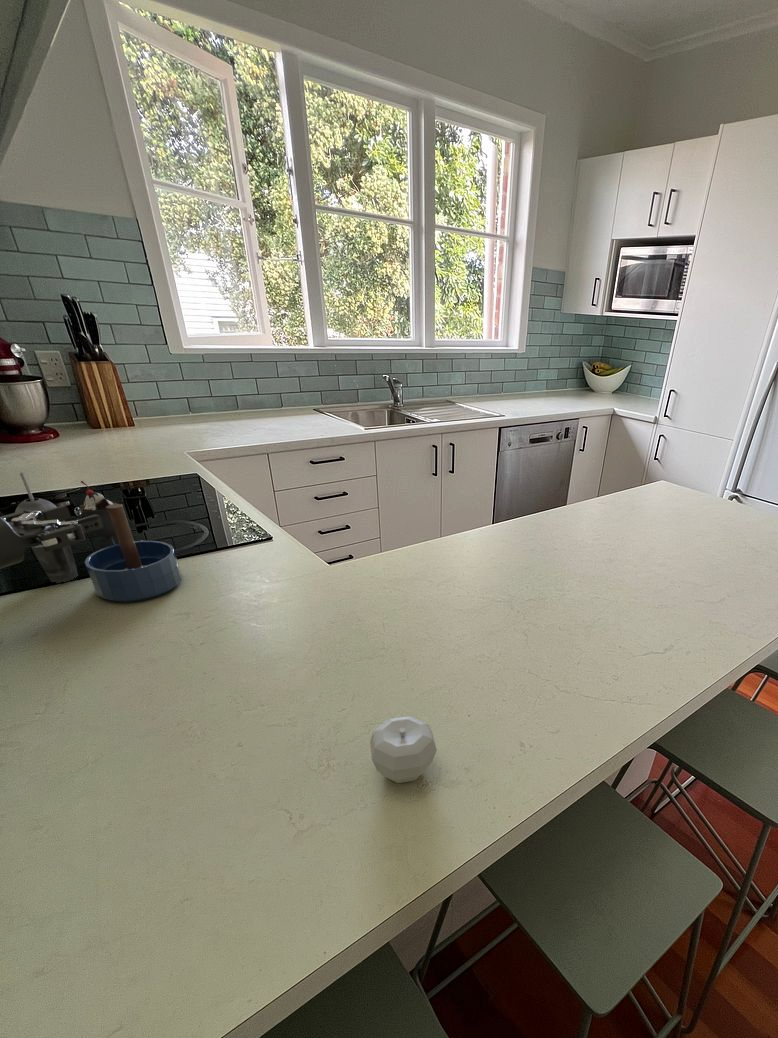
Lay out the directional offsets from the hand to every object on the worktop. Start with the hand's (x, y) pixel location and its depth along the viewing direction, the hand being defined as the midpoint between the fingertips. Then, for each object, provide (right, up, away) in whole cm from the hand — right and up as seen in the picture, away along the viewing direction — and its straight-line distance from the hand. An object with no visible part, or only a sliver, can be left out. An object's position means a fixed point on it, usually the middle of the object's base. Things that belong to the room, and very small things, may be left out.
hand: (84, 516), depth 91 cm
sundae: (-12, -2, +26) cm, 29 cm away
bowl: (+2, -11, +12) cm, 16 cm away
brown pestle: (+2, -10, +12) cm, 16 cm away
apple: (+57, -37, -26) cm, 73 cm away
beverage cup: (-14, -9, +15) cm, 22 cm away
